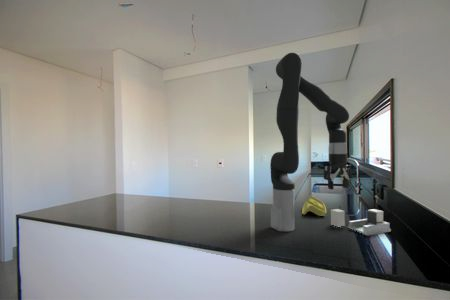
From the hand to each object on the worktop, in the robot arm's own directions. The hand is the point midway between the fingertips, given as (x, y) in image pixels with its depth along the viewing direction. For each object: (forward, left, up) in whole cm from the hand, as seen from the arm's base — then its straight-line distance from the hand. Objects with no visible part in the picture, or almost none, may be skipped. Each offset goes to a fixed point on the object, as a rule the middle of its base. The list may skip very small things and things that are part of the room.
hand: (338, 188), depth 104 cm
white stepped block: (+8, -9, -17) cm, 21 cm away
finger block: (-1, 0, -17) cm, 17 cm away
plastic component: (+7, +22, -17) cm, 29 cm away
